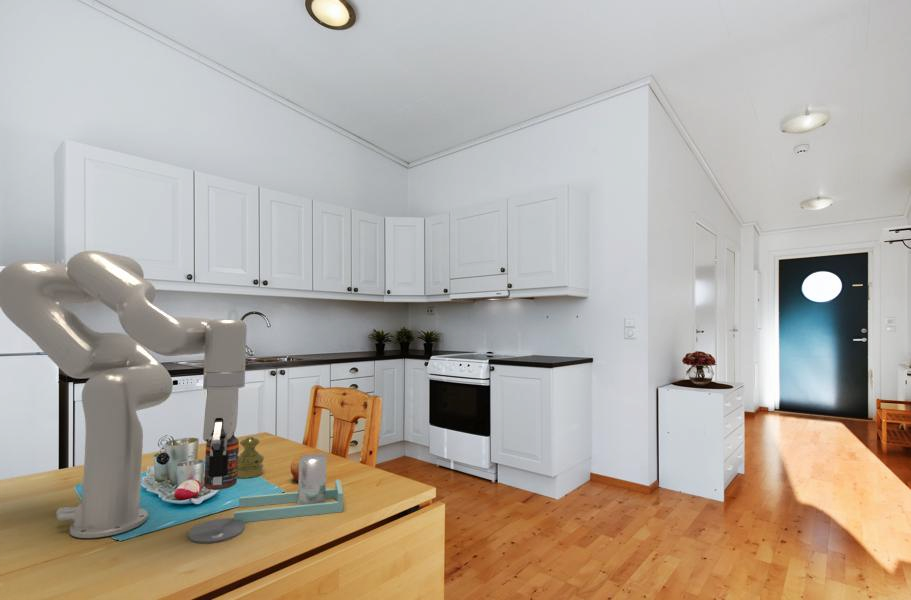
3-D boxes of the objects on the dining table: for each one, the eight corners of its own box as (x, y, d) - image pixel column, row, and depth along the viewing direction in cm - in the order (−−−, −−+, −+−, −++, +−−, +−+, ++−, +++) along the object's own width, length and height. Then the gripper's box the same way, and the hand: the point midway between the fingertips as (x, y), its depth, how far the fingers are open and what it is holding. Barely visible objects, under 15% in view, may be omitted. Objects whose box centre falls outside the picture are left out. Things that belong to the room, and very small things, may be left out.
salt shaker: (227, 477, 123) (229, 439, 124) (245, 469, 130) (247, 433, 131) (251, 479, 122) (253, 441, 122) (268, 471, 129) (270, 435, 129)
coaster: (182, 546, 85) (182, 543, 85) (194, 524, 94) (194, 521, 94) (241, 539, 88) (241, 536, 88) (247, 518, 98) (247, 515, 98)
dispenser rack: (233, 523, 95) (234, 503, 95) (239, 505, 104) (240, 487, 104) (342, 511, 102) (343, 493, 102) (339, 496, 111) (339, 479, 111)
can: (297, 513, 101) (299, 462, 101) (297, 503, 106) (299, 455, 107) (325, 510, 103) (327, 460, 103) (324, 500, 108) (326, 453, 109)
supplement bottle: (223, 492, 88) (225, 432, 89) (196, 489, 89) (199, 430, 90) (243, 482, 94) (245, 426, 95) (218, 479, 95) (220, 424, 96)
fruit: (333, 471, 125) (322, 449, 122) (313, 494, 119) (301, 471, 116) (313, 466, 129) (302, 444, 126) (293, 488, 124) (280, 465, 120)
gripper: (211, 376, 100) (208, 460, 99) (194, 386, 84) (189, 487, 83) (249, 375, 102) (246, 457, 101) (239, 384, 86) (235, 483, 85)
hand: (221, 470), depth 92 cm, fingers closed on supplement bottle, 6 cm apart
